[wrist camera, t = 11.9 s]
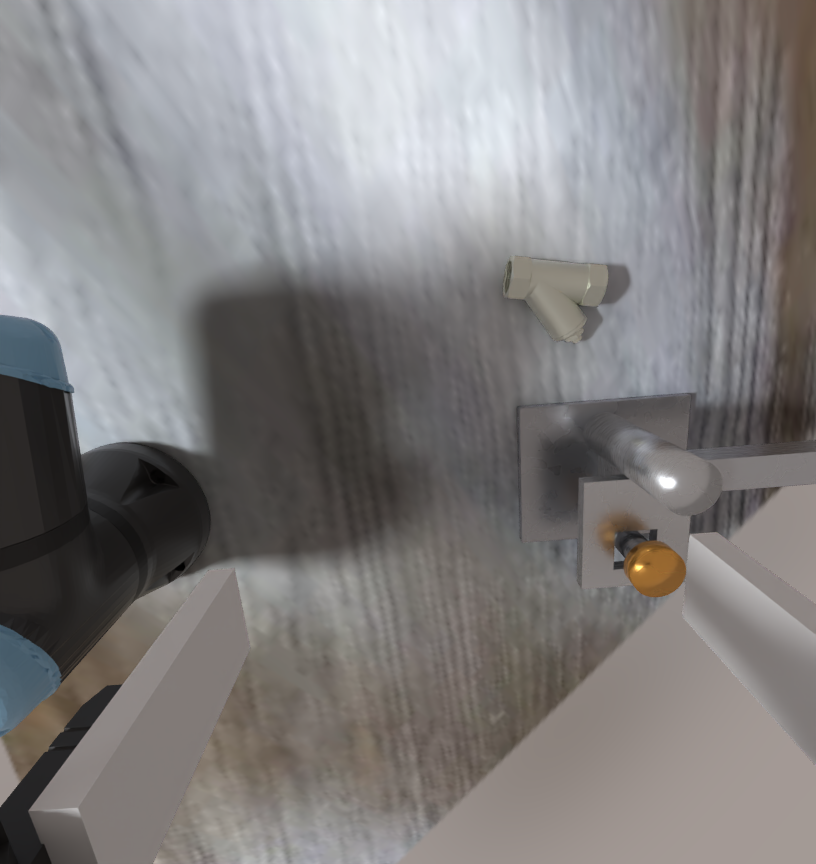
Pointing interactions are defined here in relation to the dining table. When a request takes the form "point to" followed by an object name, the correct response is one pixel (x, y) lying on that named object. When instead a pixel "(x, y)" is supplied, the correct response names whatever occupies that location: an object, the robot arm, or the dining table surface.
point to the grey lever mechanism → (632, 476)
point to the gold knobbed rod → (650, 564)
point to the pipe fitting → (556, 292)
